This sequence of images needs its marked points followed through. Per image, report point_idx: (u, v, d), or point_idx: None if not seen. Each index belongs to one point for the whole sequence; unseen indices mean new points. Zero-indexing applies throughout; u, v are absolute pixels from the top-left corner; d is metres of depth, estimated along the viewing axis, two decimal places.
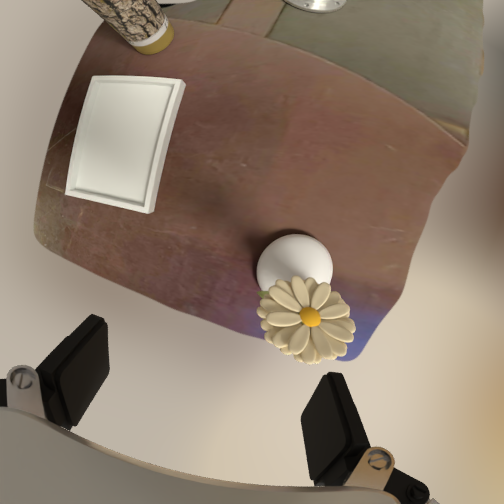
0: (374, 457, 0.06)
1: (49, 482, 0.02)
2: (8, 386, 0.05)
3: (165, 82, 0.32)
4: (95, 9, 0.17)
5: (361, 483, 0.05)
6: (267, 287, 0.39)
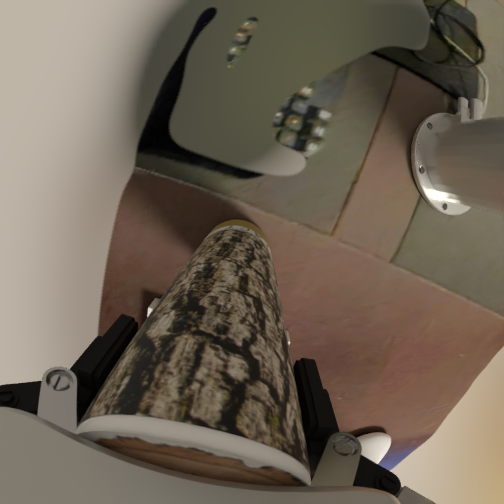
0: (339, 443, 0.07)
1: (49, 482, 0.02)
2: (45, 388, 0.05)
3: None
4: None
5: (323, 466, 0.06)
6: None
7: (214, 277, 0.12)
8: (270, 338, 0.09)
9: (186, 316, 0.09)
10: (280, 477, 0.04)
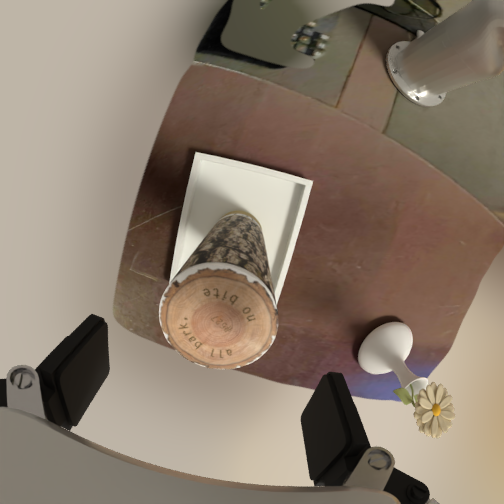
0: (374, 457, 0.06)
1: (49, 482, 0.02)
2: (8, 386, 0.05)
3: (294, 181, 0.35)
4: None
5: (361, 483, 0.05)
6: (367, 364, 0.42)
7: (229, 233, 0.22)
8: (258, 256, 0.19)
9: (218, 243, 0.19)
10: (261, 293, 0.14)
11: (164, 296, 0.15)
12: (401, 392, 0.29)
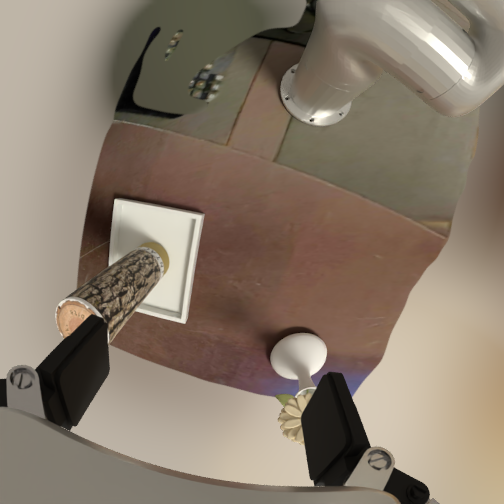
0: (374, 457, 0.06)
1: (49, 482, 0.02)
2: (8, 386, 0.05)
3: (187, 216, 0.44)
4: None
5: (361, 483, 0.05)
6: (278, 370, 0.50)
7: (107, 271, 0.30)
8: (113, 289, 0.27)
9: (91, 281, 0.27)
10: None
11: (57, 313, 0.23)
12: (284, 398, 0.37)
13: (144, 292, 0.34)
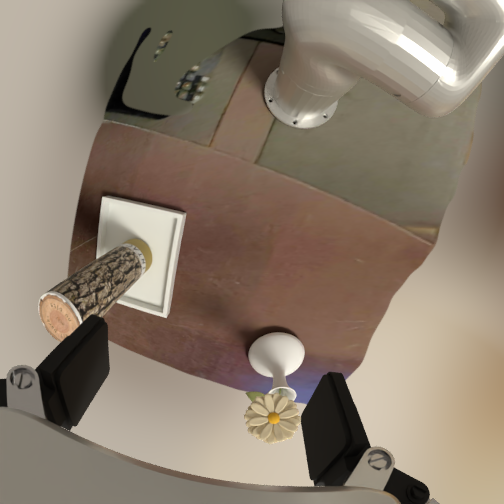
0: (374, 457, 0.06)
1: (49, 482, 0.02)
2: (8, 386, 0.05)
3: (169, 215, 0.45)
4: None
5: (361, 483, 0.05)
6: (256, 367, 0.52)
7: (88, 267, 0.31)
8: (90, 285, 0.28)
9: (71, 277, 0.28)
10: (69, 308, 0.24)
11: (39, 305, 0.24)
12: (255, 395, 0.39)
13: (122, 288, 0.36)
